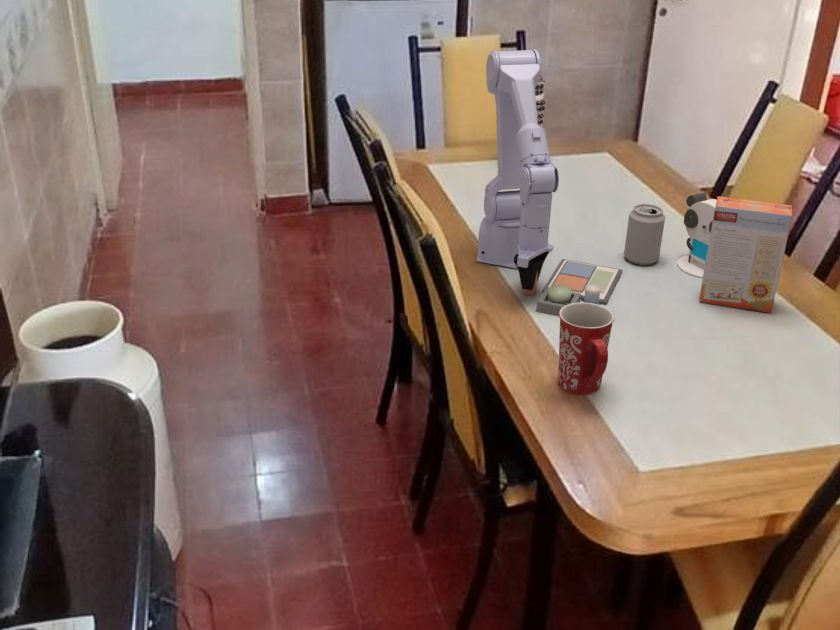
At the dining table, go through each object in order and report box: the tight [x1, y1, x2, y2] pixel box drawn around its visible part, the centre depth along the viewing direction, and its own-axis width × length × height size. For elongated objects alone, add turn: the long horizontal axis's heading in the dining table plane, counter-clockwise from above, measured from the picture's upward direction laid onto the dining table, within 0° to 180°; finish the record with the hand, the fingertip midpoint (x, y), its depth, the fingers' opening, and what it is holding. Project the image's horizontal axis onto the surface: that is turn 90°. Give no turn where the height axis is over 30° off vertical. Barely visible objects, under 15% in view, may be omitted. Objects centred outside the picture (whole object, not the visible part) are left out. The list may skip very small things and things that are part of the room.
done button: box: [548, 285, 571, 305], centre depth 185 cm, size 4×4×2 cm
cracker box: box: [698, 196, 793, 314], centre depth 185 cm, size 14×6×21 cm, turn 71°
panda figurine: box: [676, 192, 717, 279], centre depth 200 cm, size 12×11×15 cm
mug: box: [557, 301, 615, 396], centre depth 157 cm, size 13×9×14 cm
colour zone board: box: [542, 258, 623, 306], centre depth 196 cm, size 13×16×1 cm
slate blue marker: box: [583, 284, 601, 305], centre depth 182 cm, size 3×3×6 cm
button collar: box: [535, 287, 581, 316], centre depth 186 cm, size 7×7×2 cm
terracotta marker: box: [521, 272, 538, 297], centre depth 190 cm, size 3×3×6 cm
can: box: [623, 203, 666, 266], centre depth 203 cm, size 8×8×12 cm
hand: (529, 285), depth 191 cm, fingers open, 3 cm apart
